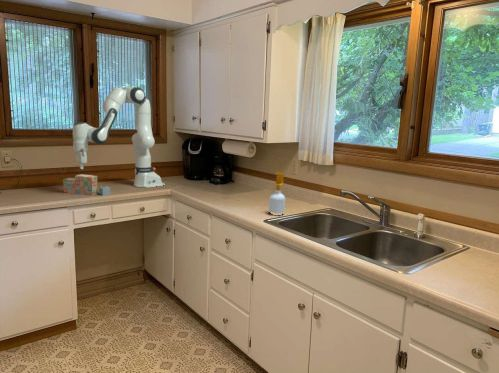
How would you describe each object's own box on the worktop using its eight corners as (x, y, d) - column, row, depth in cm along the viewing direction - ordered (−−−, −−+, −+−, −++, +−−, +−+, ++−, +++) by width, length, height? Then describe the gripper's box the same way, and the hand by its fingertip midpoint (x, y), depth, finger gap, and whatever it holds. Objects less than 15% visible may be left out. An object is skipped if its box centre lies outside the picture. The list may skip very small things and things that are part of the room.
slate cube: (106, 193, 260) (106, 185, 259) (110, 194, 257) (109, 186, 256) (99, 194, 256) (98, 186, 255) (102, 195, 253) (102, 187, 252)
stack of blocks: (63, 193, 256) (62, 174, 253) (69, 191, 262) (68, 173, 259) (92, 195, 252) (91, 177, 249) (98, 193, 258) (97, 175, 255)
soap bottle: (266, 214, 224) (269, 172, 219) (271, 211, 232) (273, 170, 227) (281, 216, 221) (284, 174, 216) (286, 213, 229) (288, 172, 224)
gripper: (89, 149, 245) (89, 171, 247) (83, 146, 262) (83, 166, 264) (78, 149, 241) (79, 171, 244) (72, 146, 258) (73, 166, 261)
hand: (81, 168), depth 254 cm, fingers closed
